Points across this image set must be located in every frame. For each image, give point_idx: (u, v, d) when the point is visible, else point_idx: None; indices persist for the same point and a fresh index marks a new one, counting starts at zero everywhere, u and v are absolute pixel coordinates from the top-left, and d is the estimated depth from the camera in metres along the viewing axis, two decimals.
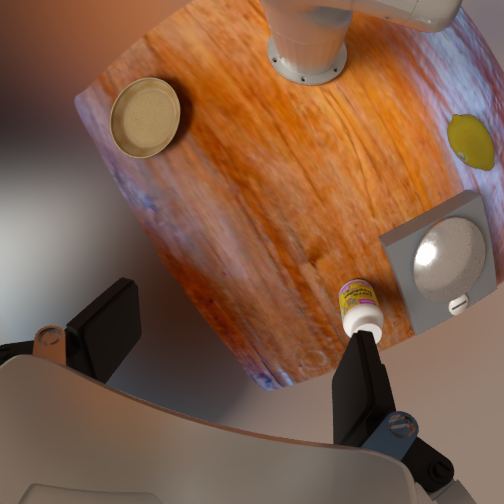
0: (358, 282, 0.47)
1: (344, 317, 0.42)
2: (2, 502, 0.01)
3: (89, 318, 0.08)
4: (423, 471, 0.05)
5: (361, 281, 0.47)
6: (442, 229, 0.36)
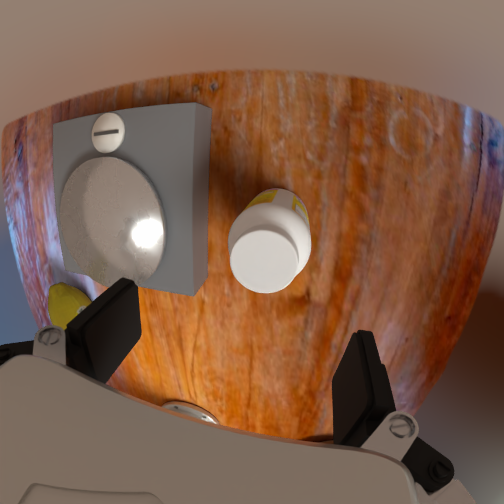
0: None
1: None
2: (2, 502, 0.01)
3: (88, 318, 0.08)
4: (423, 471, 0.05)
5: None
6: (112, 280, 0.30)
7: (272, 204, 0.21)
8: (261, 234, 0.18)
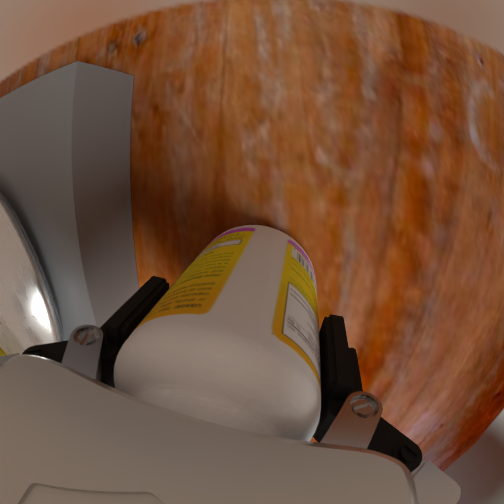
0: None
1: None
2: (2, 502, 0.01)
3: (127, 316, 0.09)
4: (387, 454, 0.06)
5: None
6: None
7: (207, 328, 0.06)
8: None
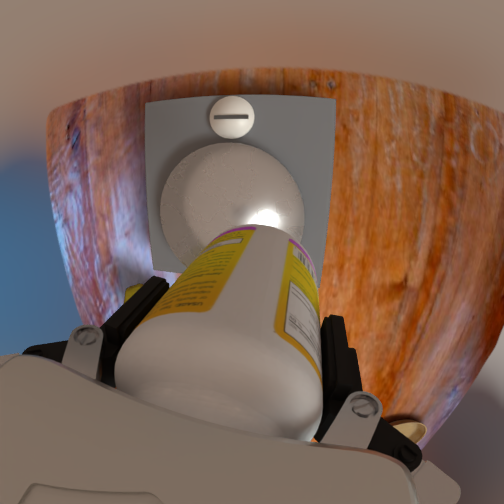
0: None
1: None
2: (2, 502, 0.01)
3: (127, 316, 0.09)
4: (387, 454, 0.06)
5: None
6: None
7: (208, 326, 0.06)
8: None
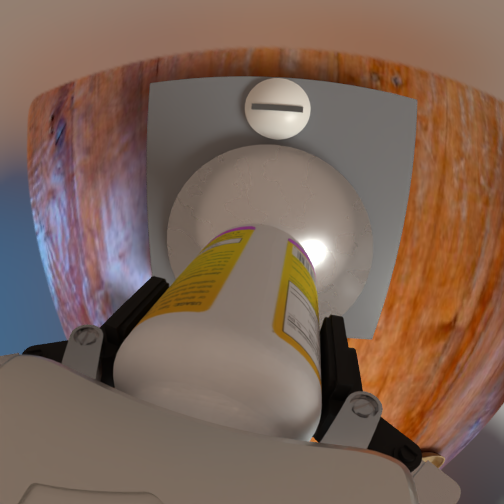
0: None
1: None
2: (2, 502, 0.01)
3: (127, 316, 0.09)
4: (388, 454, 0.06)
5: None
6: None
7: (207, 325, 0.06)
8: None
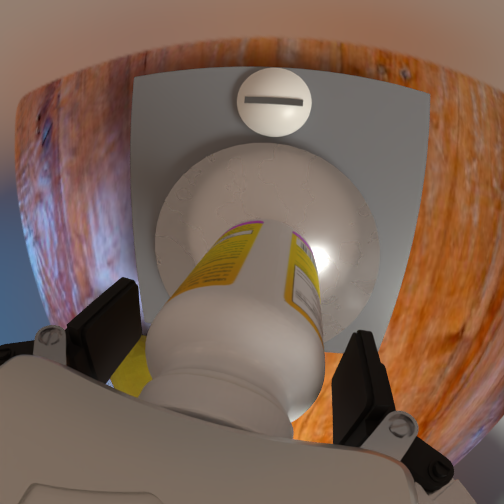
0: None
1: None
2: (2, 502, 0.01)
3: (89, 318, 0.08)
4: (423, 471, 0.05)
5: None
6: None
7: (233, 294, 0.08)
8: None
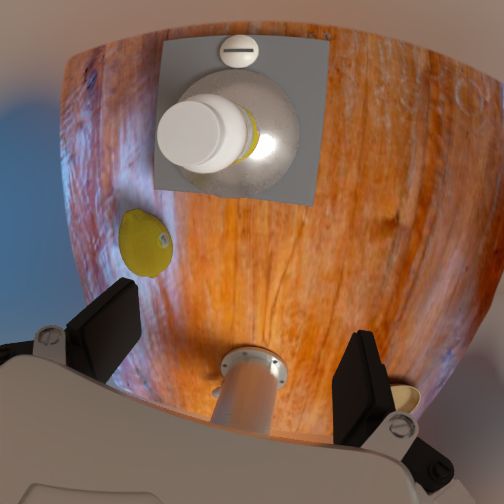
0: None
1: (233, 161, 0.22)
2: (2, 502, 0.01)
3: (89, 318, 0.08)
4: (423, 471, 0.05)
5: None
6: (228, 188, 0.32)
7: None
8: (184, 104, 0.17)
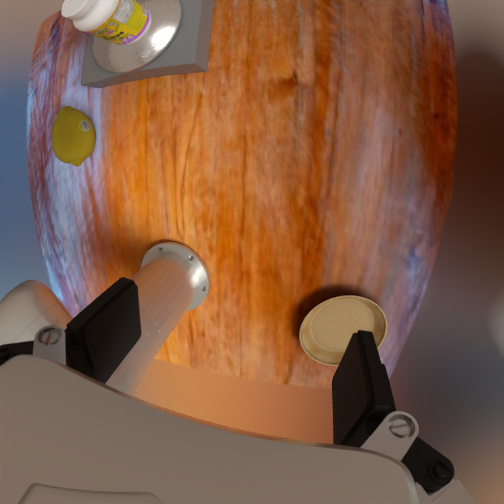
0: (115, 43, 0.27)
1: (108, 16, 0.19)
2: (2, 502, 0.01)
3: (89, 318, 0.08)
4: (423, 471, 0.05)
5: None
6: (127, 64, 0.29)
7: None
8: None
